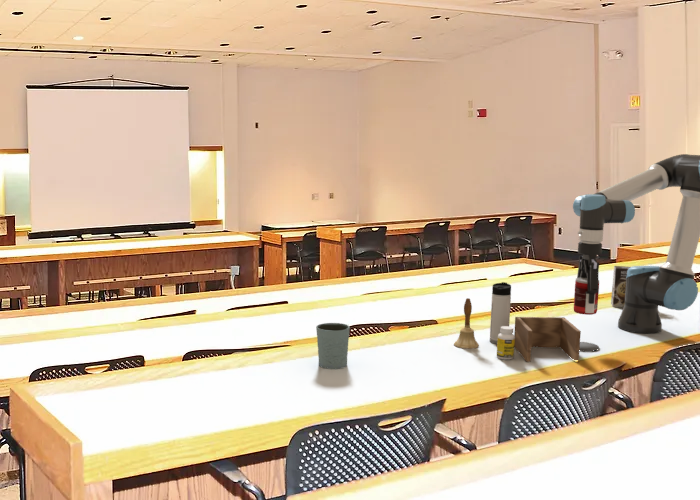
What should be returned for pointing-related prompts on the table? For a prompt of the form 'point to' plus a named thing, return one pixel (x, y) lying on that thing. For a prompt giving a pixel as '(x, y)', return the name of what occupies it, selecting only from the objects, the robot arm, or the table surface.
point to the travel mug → (499, 309)
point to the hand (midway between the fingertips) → (585, 309)
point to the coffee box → (619, 286)
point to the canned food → (583, 296)
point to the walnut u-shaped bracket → (546, 335)
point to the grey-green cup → (332, 345)
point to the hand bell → (467, 330)
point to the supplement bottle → (506, 343)
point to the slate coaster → (588, 346)
